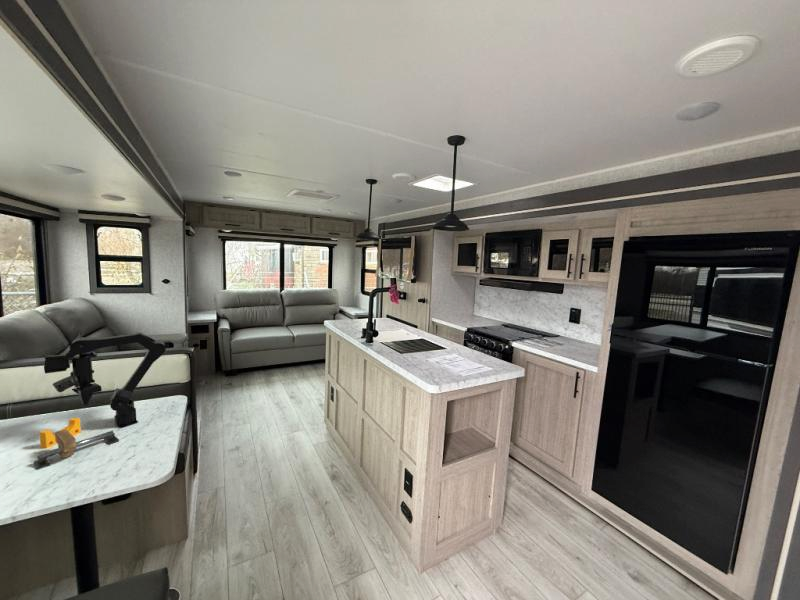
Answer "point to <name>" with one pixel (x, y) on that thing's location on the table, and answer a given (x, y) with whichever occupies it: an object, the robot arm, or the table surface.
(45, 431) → the pipe clamp
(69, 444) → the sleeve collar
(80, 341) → the robot arm
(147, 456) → the table surface
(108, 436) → the grey guide rail
